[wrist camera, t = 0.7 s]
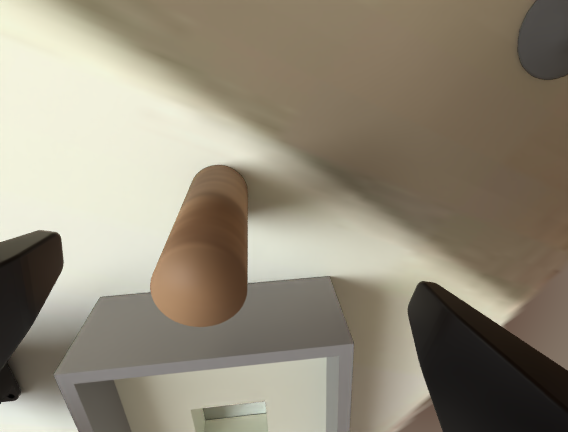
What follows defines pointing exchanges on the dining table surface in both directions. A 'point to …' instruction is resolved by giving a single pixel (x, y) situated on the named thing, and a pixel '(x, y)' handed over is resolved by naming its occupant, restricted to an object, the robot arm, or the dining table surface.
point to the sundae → (545, 39)
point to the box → (213, 364)
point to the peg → (206, 252)
